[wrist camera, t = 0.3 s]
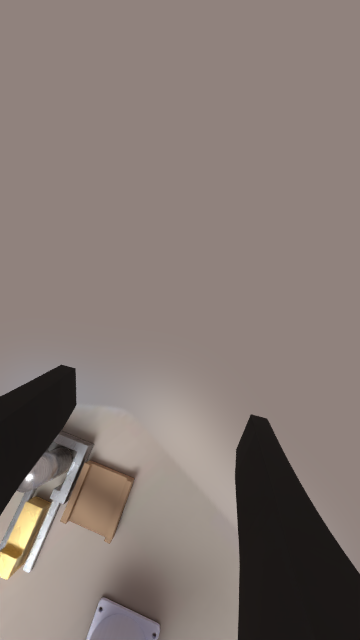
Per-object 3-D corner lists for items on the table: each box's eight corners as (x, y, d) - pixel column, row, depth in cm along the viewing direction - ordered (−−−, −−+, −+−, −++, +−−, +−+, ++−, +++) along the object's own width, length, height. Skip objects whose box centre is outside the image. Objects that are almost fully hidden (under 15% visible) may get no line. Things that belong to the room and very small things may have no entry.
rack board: (114, 535, 34) (109, 543, 32) (67, 514, 35) (60, 521, 32) (134, 478, 36) (131, 482, 34) (90, 460, 37) (84, 463, 35)
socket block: (40, 572, 32) (28, 585, 30) (-9, 549, 33) (-23, 560, 31) (93, 444, 37) (88, 446, 35) (50, 426, 38) (42, 427, 36)
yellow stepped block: (24, 562, 33) (7, 579, 29) (8, 555, 33) (-11, 571, 30) (51, 502, 35) (37, 512, 32) (35, 495, 35) (20, 504, 32)
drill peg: (65, 478, 36) (32, 497, 28) (44, 469, 36) (5, 485, 28) (77, 452, 37) (48, 463, 29) (55, 443, 38) (21, 452, 30)
